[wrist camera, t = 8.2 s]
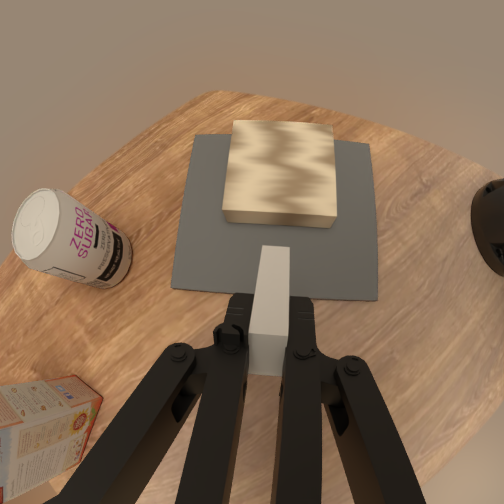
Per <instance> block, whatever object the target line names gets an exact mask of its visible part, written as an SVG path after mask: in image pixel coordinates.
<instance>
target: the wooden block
mask: <svg viewBox="0 0 504 504" xmlns="http://www.w3.org/2000/svg"><path fill="white" fill-rule="evenodd" d="M222 211H223V213H224V216H225V218H226V220H227V222H230V223H251V224H269V225H287V226H303V227H318V228H330V227H331V226H332V224H333V222H334V221H335V219H336V217H337V198H336V172H335V154H334V139H333V126H332V125H325V124H314V123H302V122H286V121H262V120H234V122H233V129H232V136H231V143H230V151H229V158H228V166H227V173H226V181H225V189H224V197H223V205H222Z"/></svg>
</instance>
